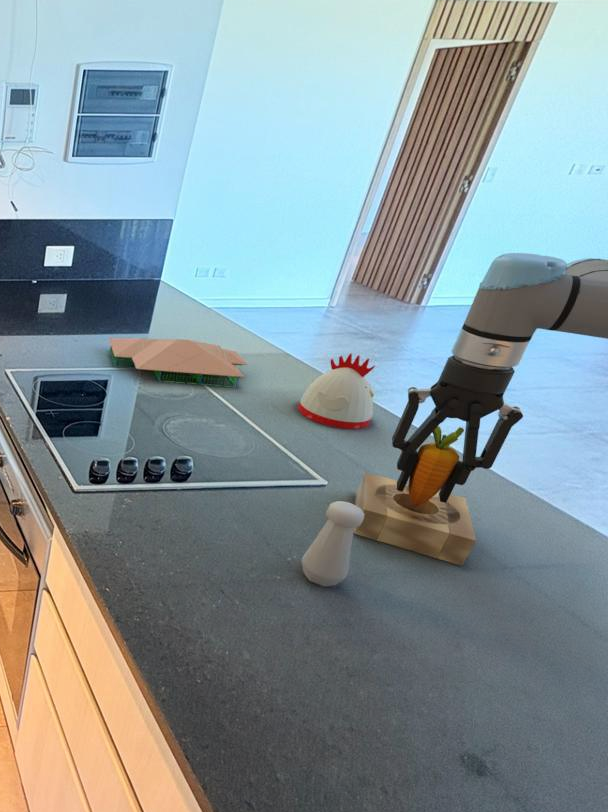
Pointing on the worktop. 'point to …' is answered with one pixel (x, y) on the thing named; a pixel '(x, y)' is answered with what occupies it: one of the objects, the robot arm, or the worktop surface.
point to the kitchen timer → (340, 396)
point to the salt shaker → (333, 545)
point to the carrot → (433, 467)
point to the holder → (414, 520)
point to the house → (178, 357)
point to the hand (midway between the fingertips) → (420, 492)
